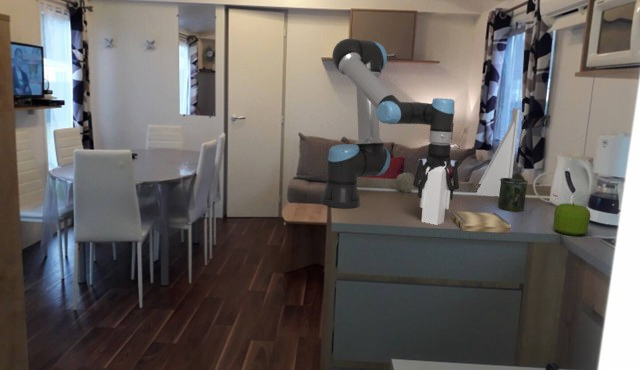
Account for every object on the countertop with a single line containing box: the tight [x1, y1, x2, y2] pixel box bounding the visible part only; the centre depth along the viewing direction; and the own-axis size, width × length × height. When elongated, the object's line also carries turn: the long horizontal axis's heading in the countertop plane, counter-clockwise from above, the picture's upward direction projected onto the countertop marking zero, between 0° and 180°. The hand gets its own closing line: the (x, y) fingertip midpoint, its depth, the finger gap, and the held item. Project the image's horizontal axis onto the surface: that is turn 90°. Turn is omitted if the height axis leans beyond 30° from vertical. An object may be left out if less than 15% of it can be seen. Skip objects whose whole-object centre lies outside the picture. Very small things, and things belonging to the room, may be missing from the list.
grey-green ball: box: [393, 172, 415, 193], centre depth 242 cm, size 9×8×10 cm
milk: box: [421, 162, 450, 226], centre depth 186 cm, size 6×6×22 cm
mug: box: [497, 177, 529, 212], centre depth 214 cm, size 11×15×12 cm
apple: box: [553, 202, 591, 236], centre depth 181 cm, size 11×11×11 cm
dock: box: [450, 210, 512, 234], centre depth 185 cm, size 16×16×3 cm
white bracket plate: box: [475, 108, 521, 198], centre depth 244 cm, size 20×14×40 cm
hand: (433, 207), depth 187 cm, fingers closed on milk, 8 cm apart
